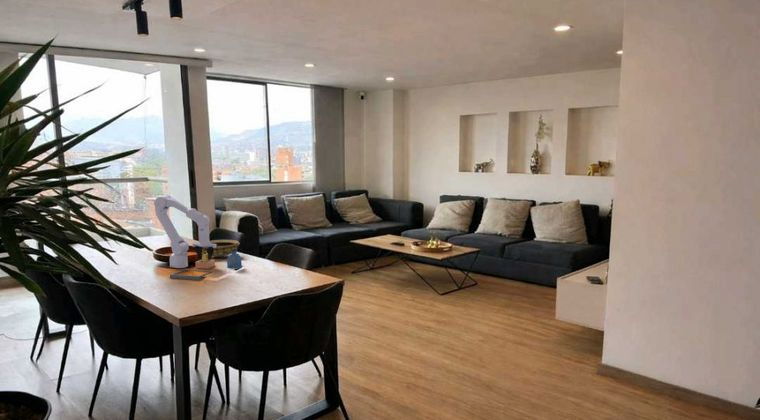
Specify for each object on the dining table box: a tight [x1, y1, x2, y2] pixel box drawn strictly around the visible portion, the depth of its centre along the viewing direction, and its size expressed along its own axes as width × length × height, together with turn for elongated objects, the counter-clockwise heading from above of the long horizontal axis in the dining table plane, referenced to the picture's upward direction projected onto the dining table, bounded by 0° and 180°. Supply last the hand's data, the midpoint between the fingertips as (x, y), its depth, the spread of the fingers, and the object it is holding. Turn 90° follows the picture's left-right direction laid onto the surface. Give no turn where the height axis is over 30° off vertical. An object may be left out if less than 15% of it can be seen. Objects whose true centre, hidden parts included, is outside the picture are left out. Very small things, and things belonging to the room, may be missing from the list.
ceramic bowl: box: [202, 239, 240, 260], centre depth 320 cm, size 30×24×10 cm
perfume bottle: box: [226, 248, 243, 271], centre depth 290 cm, size 6×6×12 cm
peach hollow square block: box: [195, 259, 216, 270], centre depth 290 cm, size 8×8×5 cm
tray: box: [169, 268, 214, 281], centre depth 274 cm, size 18×13×2 cm
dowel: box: [201, 253, 208, 262], centre depth 289 cm, size 3×3×8 cm
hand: (205, 259), depth 289 cm, fingers open, 6 cm apart
